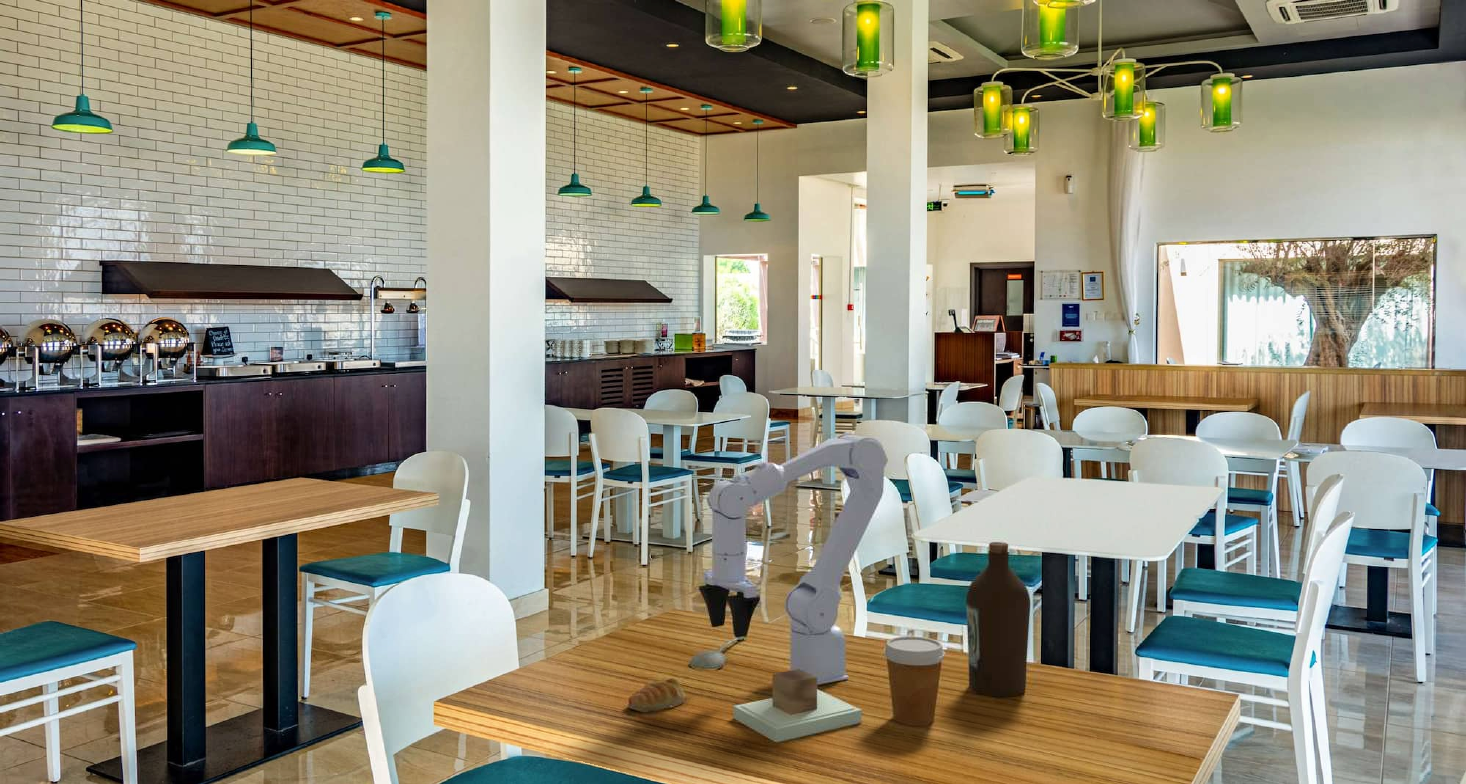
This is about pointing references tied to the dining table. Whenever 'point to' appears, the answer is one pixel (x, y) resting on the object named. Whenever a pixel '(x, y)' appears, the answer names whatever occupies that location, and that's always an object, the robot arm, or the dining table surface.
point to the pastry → (657, 696)
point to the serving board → (797, 718)
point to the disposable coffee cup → (914, 678)
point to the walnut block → (794, 691)
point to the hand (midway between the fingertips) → (729, 631)
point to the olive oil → (997, 627)
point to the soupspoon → (711, 657)
